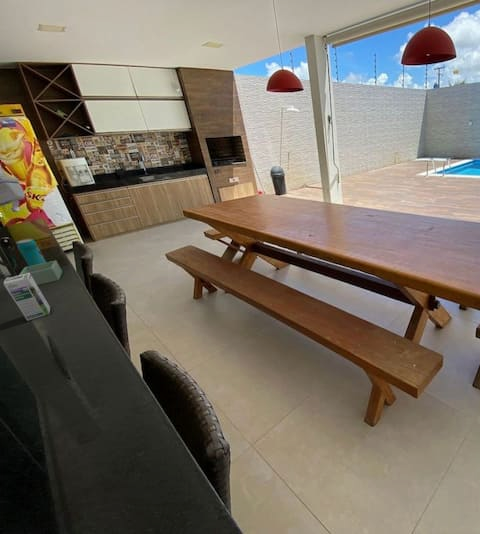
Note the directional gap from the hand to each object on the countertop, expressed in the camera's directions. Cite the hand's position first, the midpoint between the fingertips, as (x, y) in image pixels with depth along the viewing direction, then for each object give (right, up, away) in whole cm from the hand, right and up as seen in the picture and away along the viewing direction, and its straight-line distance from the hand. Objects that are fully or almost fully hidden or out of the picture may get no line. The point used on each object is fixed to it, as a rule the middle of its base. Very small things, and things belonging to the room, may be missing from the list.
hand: (7, 214), depth 135 cm
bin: (+20, -29, -4) cm, 35 cm away
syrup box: (+45, -40, -29) cm, 67 cm away
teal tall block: (+10, -25, +5) cm, 28 cm away
